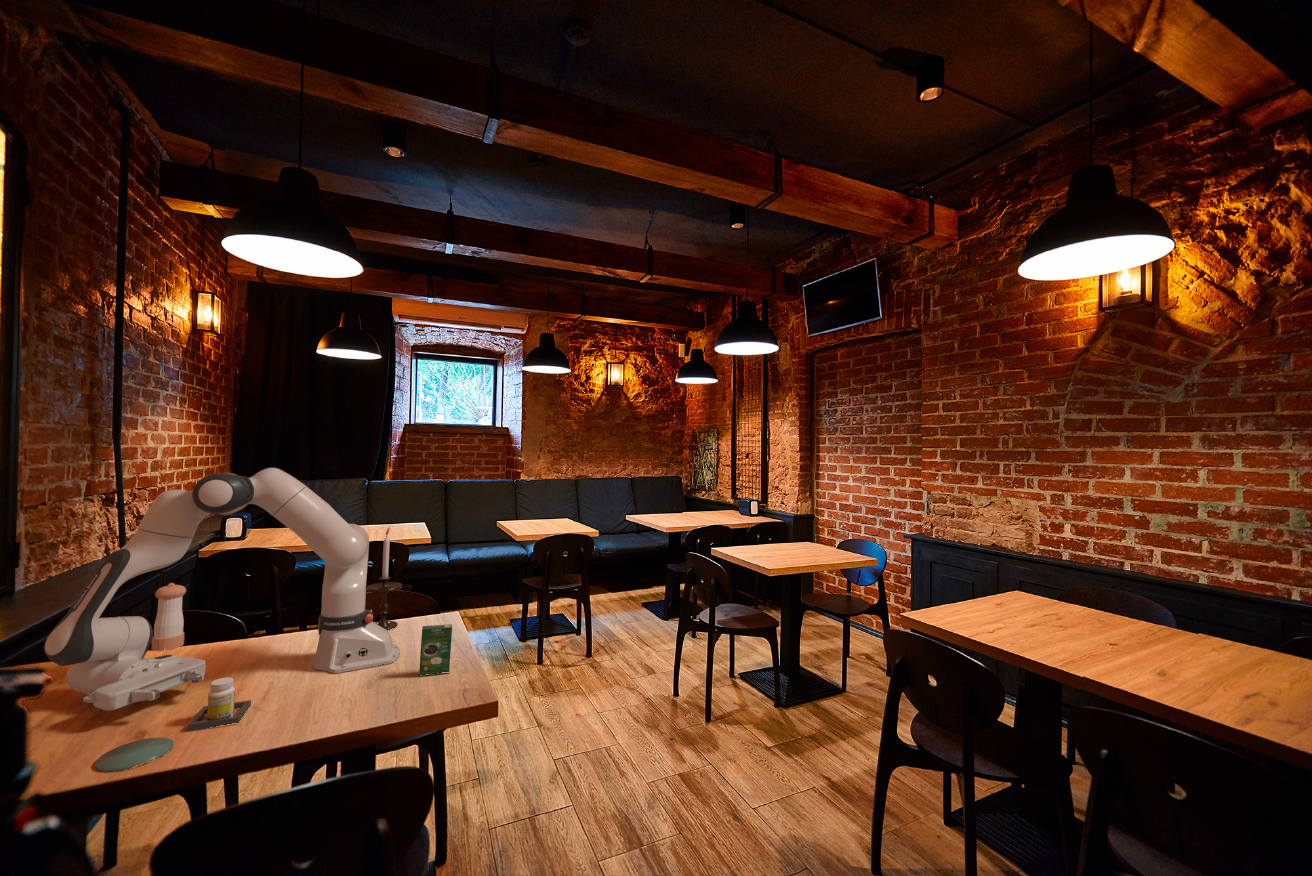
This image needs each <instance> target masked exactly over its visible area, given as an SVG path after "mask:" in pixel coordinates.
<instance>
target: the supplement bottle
mask: <svg viewBox="0 0 1312 876" xmlns="http://www.w3.org/2000/svg"><path fill="white" fill-rule="evenodd" d="M209 690H210V691H209V692H208V694H207V706H208V709H207V715H206V720H213V719H221V718H228V717H234V716H235V715H234V714H235V710H234V702H235V699H236V698H235V695H236V688H235V686H234V678H232V677H221V678H217V679H214V680H213V681H212V682H211V683H210V687H209Z"/></svg>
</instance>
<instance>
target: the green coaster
mask: <svg viewBox="0 0 1312 876" xmlns="http://www.w3.org/2000/svg"><path fill="white" fill-rule="evenodd" d="M172 747H173V748H174V740H172V739H171V738H169V737H161V736H160V737H150V738H143V739H139V740H135V741H132V742H127V743H124V744H123V745H119V746H117V747H115V748H113V749H111V750H108V751H107V752H106V751H105V753H103V754H101V755H100V756H99V757H98V758H97V759H96V761H95V764H94V768H95V770H97V771H99V772H103V773H114V771H116V772H122V771H125V770H124V769H128V770H130V769H129V768H132V767H134V766H136V765H140V764H142V763H145V762H147V761H152V760H153V759H157V758H159V757H161V756H162V757H164V756H165V755H164V754H166V753H167V752H168V751H169V750H170V751H172V749H173V748H172ZM170 751H169V752H170ZM169 752H168V753H169ZM168 753H167V754H168ZM167 754H166V755H167ZM163 755H164V756H163ZM162 757H161V758H162ZM159 759H160V758H159ZM157 760H158V759H157ZM132 769H133V768H132Z"/></svg>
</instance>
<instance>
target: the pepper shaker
mask: <svg viewBox="0 0 1312 876" xmlns="http://www.w3.org/2000/svg"><path fill="white" fill-rule="evenodd" d="M186 592H187V588H186V587H185V586H184V585H180V584H175V583H174V582H170V583H168V584H167V585H165V586H162V587H159V588H158V589H157V590H156V591H155V593H154V596H155V597H156V599H158V600H157V601H158V603H157V613H156V617H155V621H154V626H153V628H154V629H153V638H152V642H151V647H150V649H151V650H152V651H154V652H156V650H162V651H165V650H164V649H169V650H173V649H177V648H180V647H182V646H184V644H185V632H184V623H185V620H184V614H183V613H184V612H183V596H184V595H185V594H186Z"/></svg>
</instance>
